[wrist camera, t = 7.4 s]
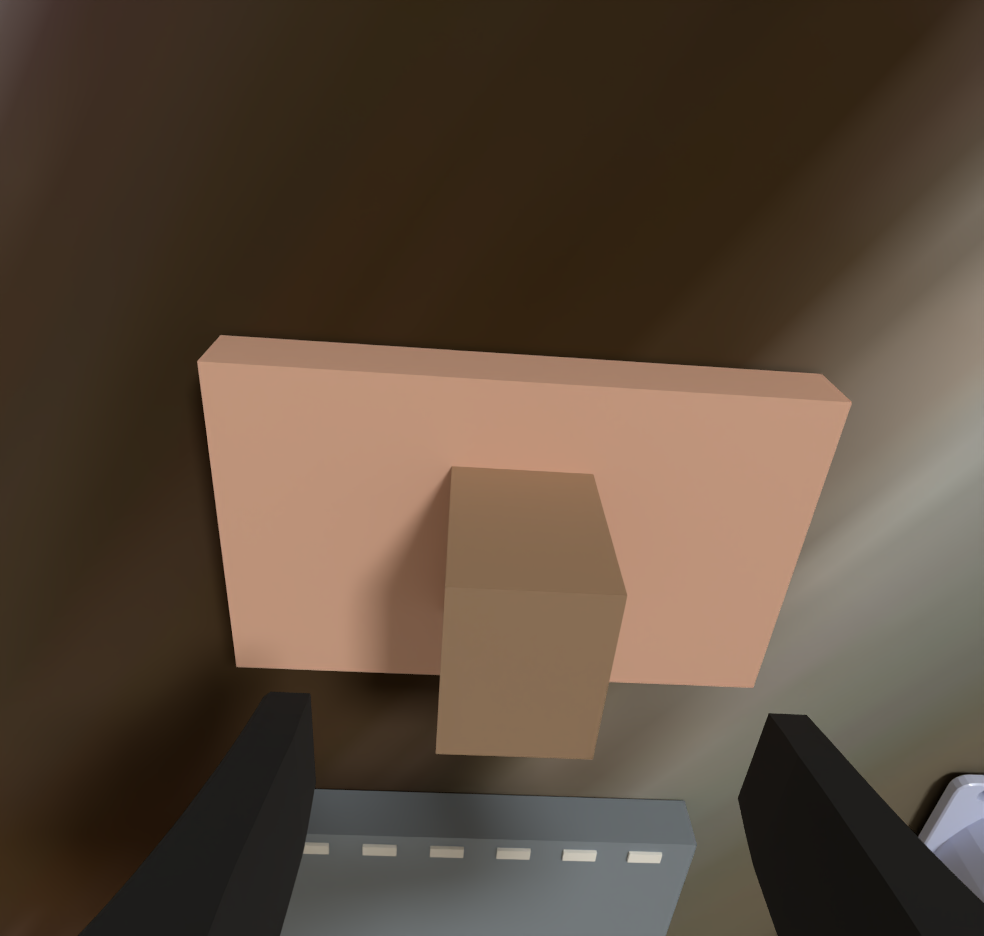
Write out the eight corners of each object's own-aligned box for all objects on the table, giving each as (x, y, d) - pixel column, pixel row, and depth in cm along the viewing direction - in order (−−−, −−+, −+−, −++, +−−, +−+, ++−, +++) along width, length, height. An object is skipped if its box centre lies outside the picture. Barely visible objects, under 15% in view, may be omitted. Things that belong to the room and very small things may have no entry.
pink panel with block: (821, 373, 16) (966, 509, 11) (735, 646, 20) (816, 832, 15) (220, 334, 15) (107, 462, 11) (252, 625, 19) (180, 813, 15)
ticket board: (684, 800, 23) (697, 847, 22) (623, 995, 29) (630, 1042, 28) (271, 787, 23) (258, 835, 21) (293, 989, 29) (284, 1037, 27)
